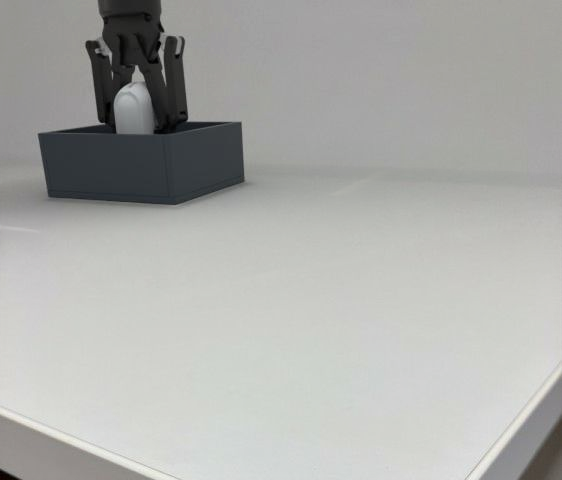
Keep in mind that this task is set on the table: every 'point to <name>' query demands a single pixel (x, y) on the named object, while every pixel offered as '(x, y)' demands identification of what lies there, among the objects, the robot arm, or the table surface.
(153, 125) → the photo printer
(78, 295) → the table surface
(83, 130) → the bin
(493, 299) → the table surface
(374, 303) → the table surface
